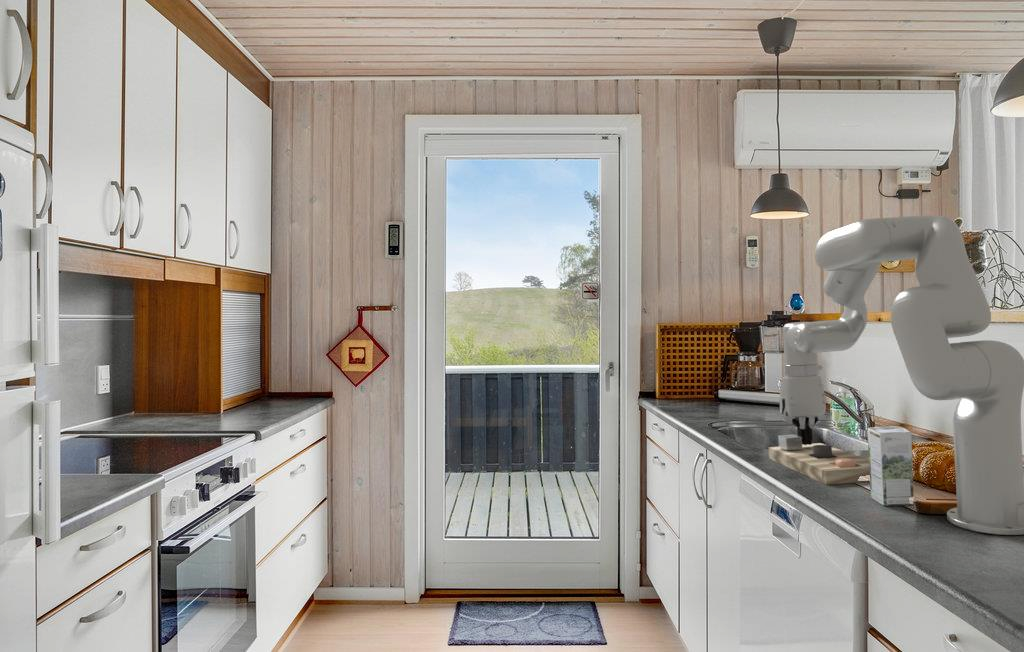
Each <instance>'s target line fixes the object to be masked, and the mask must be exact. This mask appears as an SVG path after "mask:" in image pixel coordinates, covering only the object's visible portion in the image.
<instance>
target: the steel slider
mask: <svg viewBox="0 0 1024 652" xmlns="http://www.w3.org/2000/svg"><path fill="white" fill-rule="evenodd" d="M777 438H778V447H780V448H782V449H785V450H797V449H802V437H800V436H798V434H793V433H792V434H790V433H789V434H780V435H778V437H777Z"/></svg>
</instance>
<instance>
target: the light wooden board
mask: <svg viewBox="0 0 1024 652" xmlns="http://www.w3.org/2000/svg"><path fill="white" fill-rule="evenodd" d="M815 445H826V444H824V443H821V442H817V443H814V442H813V443H812V444H811V445H809V444H808V445H804V444H802V449H797V450H785V449H782V448H780V447H779V446H771V447H770V446H769V447H768V459H769V460H770V461H773V462H775V463H778V464H779V465H781V466H784V467H786V468H788V469H790V470H793V471H795V472H797V473H799V474H802V475H804V476H806V477H808V478H810V479H811V480H815V481H817V482H819V483H821V484H824V485H825V486H828V485H829V486H830V485H837V484H838V485H841V484H850V483H852V484H853V483H860V482H859V481H858V479H859V477H860V476H866V475H870V473H869V458H865V457H863V456H859V455H858V454H854V453H851V452H848V451H844V450H841V449H839V448H836V447H833V446H831V447H832V458H824V459H817V458H815V457H814V455H813V446H815ZM838 458H848V459H853V460H855V467H845V468H840V467H838V466H835V459H838Z"/></svg>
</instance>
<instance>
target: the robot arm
mask: <svg viewBox="0 0 1024 652" xmlns="http://www.w3.org/2000/svg"><path fill="white" fill-rule="evenodd" d="M814 260H815V263H816V265H817V266H818V268H820V269H821V270H823V271H825V272H828V275H827V276H826V279H825V281H824V283H823V284H822V285H823V291H824V294H825V295H826V296H827V298H828V299H830V300H832V301H833V302H835V303H836V304H838V305H840V306H844V307H845V308H844V311H843V313H842V315H841V316H840V317H839V319H833V320H832V319H831V320H817V321H795V322H788V323H785V324H784V325H783V327H782V337H783V339H782V341H783V356H784V372H785V373H784V375H785V376H782V378H781V381H780V387H779V388H780V390H779V412H780V414H781V415H782V420H781V421H783V422H786V423H791V424H792V425H793V426H794V427H795V428H796V430H797V436H800V437H802V444H804V445H808V444H809V445H811V444H813V442H812V441H813V429H814V428H815V425H816V424H817V422H818V421H822V420H825V419H826V411H827V409H826V408H827V406H826V405H827V403H826V395H825V389H824V384H823V381H822V378H821V376H820V375H819V371H822V370H823V366H822V364H819V363H818V354H820V353H821V354H822V353H830V352H831V353H832V352H842V351H846V350H849V349H851V348H852V347H853V346H854V345H856V343H857V342H858V341H859V339H860V337H861V336H862V335H863V332H864V330H865V329H866V326H867V324H868V308H867V304H866V302H865V300H864V296H865V295H866V293H867V291H868V289H870V288H869V287H870V286H871V284H872V282H873V280H874V279H875V277H876V275H877V274H878V272H879V270H880V268H881V267H882V265H883V263H885V262H886V263H887V262H900V261H911V260H916V261H915V262H916V263H915V269H914V270H915V275H916V279H917V282H918V283H919V286H913V287H909V288H906V289H904V290H902V291H900V293H898V294H897V295H896V296H895V298H894V300H893V302H892V305H891V308H890V322H891V327H892V330H893V334H894V336H895V340H896V342H897V345H898V347H899V350H900V353H901V355H902V358H903V362H904V365H905V367H906V370H907V371H908V375H909V377H910V379H911V380H910V381H911V382H912V384H913V386H914V387H915V389H916V390H917V391H918V392H919V393H920V394H921V395H922V396H923V397H926V399H930V400H933V401H952V400H958V402H957V405H956V406H955V411H954V413H953V419H952V432H953V452H954V453H953V454H954V471H955V474H954V475H955V488H956V490H955V491H956V507H952V508H950V509H949V510H947V511H946V518H947V520H948V521H949V522H950V523H951V524H952V525H955V526H957V527H959V528H962V529H964V530H965V529H966V530H969V531H973V532H978V533H983V534H984V533H985V534H988V535H989V534H992V535H1000V536H1001V535H1004V536H1018V535H1019V536H1020V535H1024V462H1023V460H1024V459H1023V445H1022V442H1023V441H1022V403H1023V402H1022V400H1023V392H1024V358H1023V357H1024V356H1022V354H1021V352H1020V351H1018V349H1016V348H1015V347H1014V346H1012V345H1010V344H1009V343H1006V342H1003V341H998V340H988V339H987V340H982V339H981V340H974V341H973V340H972V341H971V340H970V341H960V342H951V343H950V342H949V339H953V338H964V337H969V336H975V335H977V334H980V333H982V332H984V331H985V330H986V329H988V327H989V326H990V323H991V321H992V313H991V308H990V305H989V302H988V300H987V297H986V296H985V295H986V294H985V293H984V291H983V288H982V286H981V283H980V281H979V279H978V277H977V274H976V272H975V269H974V267H973V265H972V264H971V262H970V261H971V260H970V258H969V256H968V253H967V249H966V246H965V240H964V236H963V233H962V230H961V229H960V227H959V226H958V224H957V222H956V221H954V219H952V218H950V217H948V216H946V215H942V214H941V215H940V214H931V215H929V214H928V215H927V214H926V215H911V216H907V215H906V216H895V217H877V218H873V217H872V218H866V219H865V218H864V219H860V220H858V221H857V220H856V221H854V222H851V223H848V224H846V225H844V226H841V227H837V228H835V229H833V230H829V231H827V232H826V233H825V234H823V235H822V236H821V237H820V239H819V240H818V241H817V244H816V246H815V249H814Z"/></svg>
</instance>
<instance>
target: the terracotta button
mask: <svg viewBox="0 0 1024 652" xmlns="http://www.w3.org/2000/svg"><path fill="white" fill-rule="evenodd" d="M835 466H838V467H840V468H845V467H855V460H853V459H848V458H838V459H835Z"/></svg>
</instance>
